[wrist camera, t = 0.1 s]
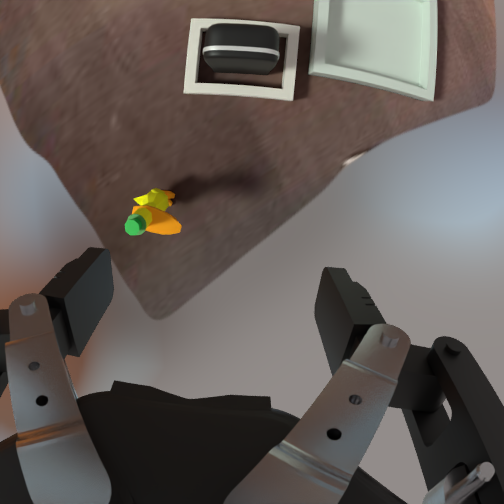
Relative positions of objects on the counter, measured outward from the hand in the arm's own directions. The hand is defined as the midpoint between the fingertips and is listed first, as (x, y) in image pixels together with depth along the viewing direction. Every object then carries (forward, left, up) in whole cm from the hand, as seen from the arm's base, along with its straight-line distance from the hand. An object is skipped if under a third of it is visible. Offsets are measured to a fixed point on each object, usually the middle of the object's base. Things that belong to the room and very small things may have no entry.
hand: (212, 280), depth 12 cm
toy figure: (+5, -8, -29) cm, 31 cm away
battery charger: (-13, 0, -29) cm, 32 cm away
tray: (-20, +16, -29) cm, 39 cm away
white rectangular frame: (-13, 0, -29) cm, 32 cm away
